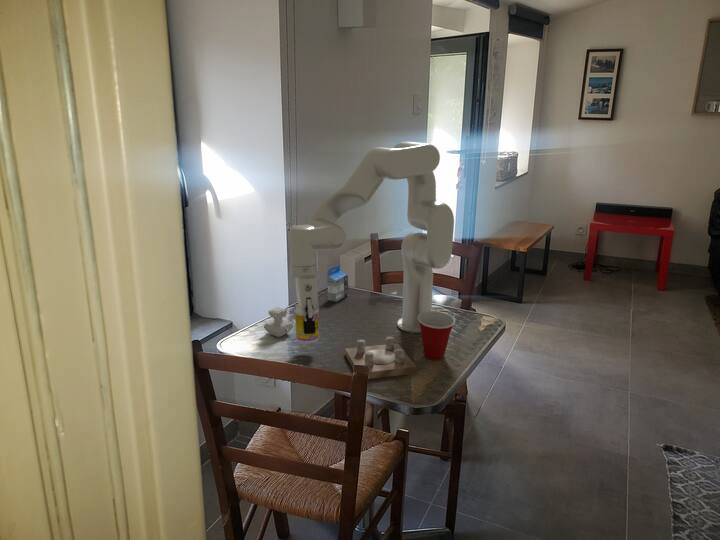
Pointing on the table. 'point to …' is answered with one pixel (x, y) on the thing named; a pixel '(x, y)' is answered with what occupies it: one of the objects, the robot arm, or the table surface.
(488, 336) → the table surface
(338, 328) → the table surface
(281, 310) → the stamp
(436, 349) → the plastic cup
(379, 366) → the stub board
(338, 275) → the label tape box
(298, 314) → the supplement bottle
